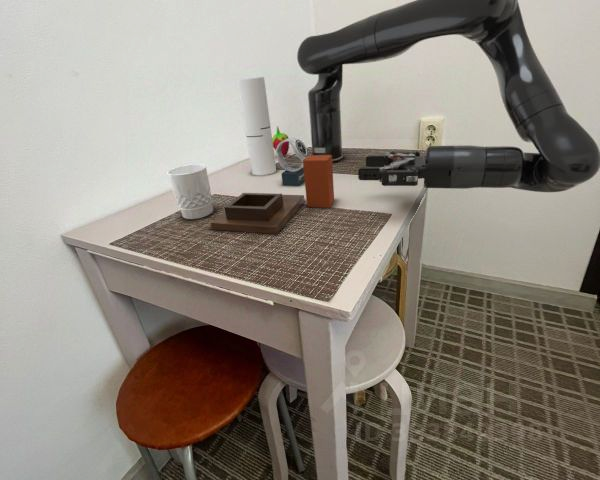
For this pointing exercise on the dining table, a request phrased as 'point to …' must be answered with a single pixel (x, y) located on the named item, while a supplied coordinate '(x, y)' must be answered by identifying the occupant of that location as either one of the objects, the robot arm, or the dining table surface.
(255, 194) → the brown square tray
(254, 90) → the cylindrical container
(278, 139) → the strawberry
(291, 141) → the watch
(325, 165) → the brown rectangular block
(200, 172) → the white cup
